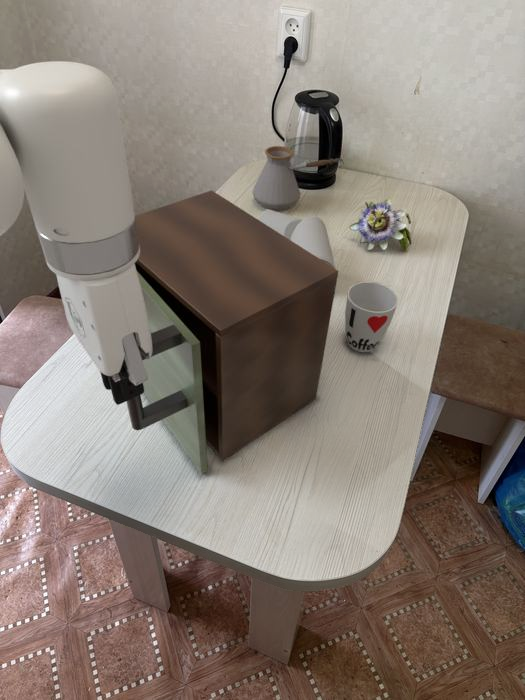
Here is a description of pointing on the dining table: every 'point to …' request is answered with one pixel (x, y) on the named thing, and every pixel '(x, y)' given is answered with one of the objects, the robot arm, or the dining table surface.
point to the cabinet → (240, 311)
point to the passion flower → (382, 225)
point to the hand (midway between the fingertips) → (124, 389)
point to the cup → (368, 314)
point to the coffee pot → (281, 179)
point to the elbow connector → (301, 233)
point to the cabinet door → (172, 380)
